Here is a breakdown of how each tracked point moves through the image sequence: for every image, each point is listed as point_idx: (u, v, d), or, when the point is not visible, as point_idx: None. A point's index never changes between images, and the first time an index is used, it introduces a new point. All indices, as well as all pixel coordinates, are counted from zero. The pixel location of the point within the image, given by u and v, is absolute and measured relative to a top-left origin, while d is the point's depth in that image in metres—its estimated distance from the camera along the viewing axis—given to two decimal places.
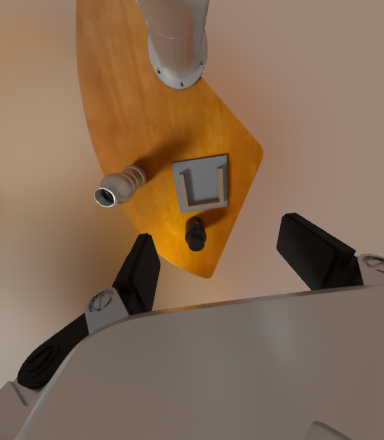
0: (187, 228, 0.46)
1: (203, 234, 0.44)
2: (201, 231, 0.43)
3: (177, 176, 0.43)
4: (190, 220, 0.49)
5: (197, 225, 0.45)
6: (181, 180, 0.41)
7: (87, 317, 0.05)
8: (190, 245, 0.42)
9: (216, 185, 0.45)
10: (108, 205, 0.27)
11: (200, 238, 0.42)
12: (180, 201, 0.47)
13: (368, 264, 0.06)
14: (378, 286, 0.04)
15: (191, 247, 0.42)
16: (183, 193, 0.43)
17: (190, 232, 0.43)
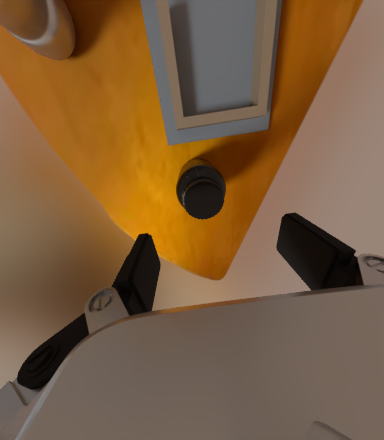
0: (181, 172, 0.20)
1: (220, 179, 0.18)
2: (215, 171, 0.18)
3: (155, 29, 0.17)
4: (188, 162, 0.23)
5: (204, 163, 0.19)
6: (163, 22, 0.15)
7: (87, 317, 0.05)
8: (188, 201, 0.16)
9: (250, 65, 0.19)
10: None
11: (215, 182, 0.16)
12: (166, 112, 0.21)
13: (368, 264, 0.06)
14: (378, 286, 0.04)
15: (190, 207, 0.16)
16: (170, 73, 0.17)
17: (188, 173, 0.18)
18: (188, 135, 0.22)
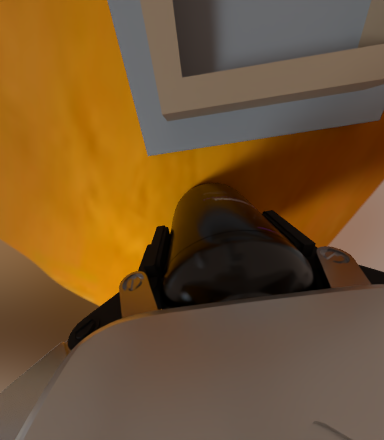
0: (177, 231, 0.07)
1: (312, 285, 0.05)
2: (297, 259, 0.05)
3: None
4: (194, 193, 0.10)
5: (243, 214, 0.06)
6: None
7: (123, 295, 0.06)
8: None
9: None
10: None
11: None
12: (137, 75, 0.08)
13: (325, 256, 0.06)
14: (378, 286, 0.04)
15: None
16: None
17: (199, 270, 0.05)
18: (194, 133, 0.10)
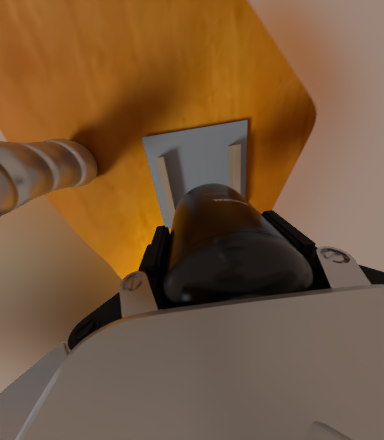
0: (177, 232, 0.07)
1: (312, 286, 0.05)
2: (297, 261, 0.05)
3: (155, 163, 0.23)
4: (194, 193, 0.10)
5: (243, 215, 0.06)
6: (160, 169, 0.21)
7: (124, 295, 0.06)
8: None
9: (226, 180, 0.25)
10: None
11: None
12: (163, 208, 0.27)
13: (325, 256, 0.06)
14: (378, 286, 0.04)
15: None
16: (166, 194, 0.23)
17: (199, 271, 0.05)
18: None
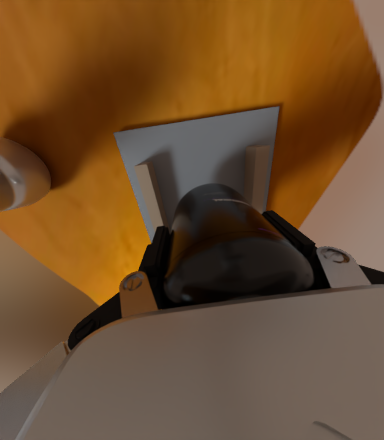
0: (177, 232, 0.07)
1: (313, 286, 0.05)
2: (298, 261, 0.05)
3: None
4: (194, 193, 0.10)
5: (243, 215, 0.06)
6: (143, 183, 0.14)
7: (124, 295, 0.06)
8: None
9: None
10: None
11: None
12: (152, 232, 0.20)
13: (325, 256, 0.06)
14: (378, 286, 0.04)
15: None
16: (153, 218, 0.16)
17: (199, 271, 0.05)
18: None
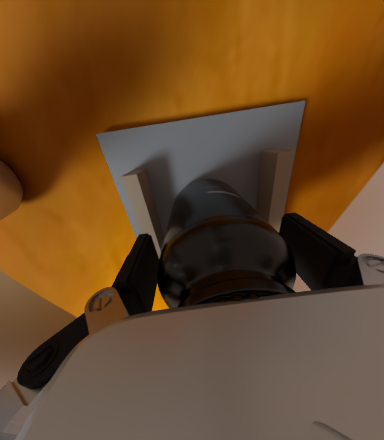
0: (173, 221, 0.08)
1: (289, 262, 0.06)
2: (275, 240, 0.06)
3: None
4: (190, 187, 0.11)
5: (232, 203, 0.07)
6: (133, 197, 0.11)
7: (87, 317, 0.05)
8: None
9: None
10: None
11: None
12: None
13: (368, 264, 0.06)
14: (378, 286, 0.04)
15: None
16: None
17: (189, 248, 0.05)
18: None
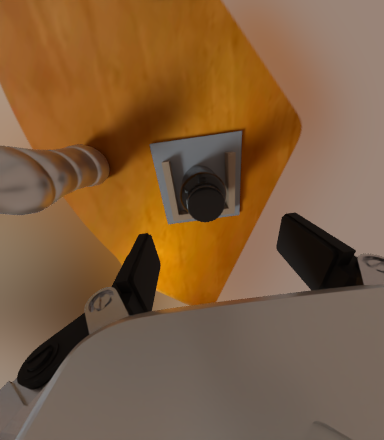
0: (185, 178, 0.22)
1: (221, 184, 0.19)
2: (216, 177, 0.19)
3: (160, 166, 0.26)
4: (191, 168, 0.25)
5: (206, 170, 0.21)
6: (166, 172, 0.24)
7: (87, 317, 0.05)
8: (191, 205, 0.17)
9: (223, 182, 0.28)
10: None
11: (216, 187, 0.17)
12: (166, 206, 0.30)
13: (368, 264, 0.06)
14: (378, 286, 0.04)
15: (193, 211, 0.18)
16: (170, 194, 0.26)
17: (191, 179, 0.19)
18: None
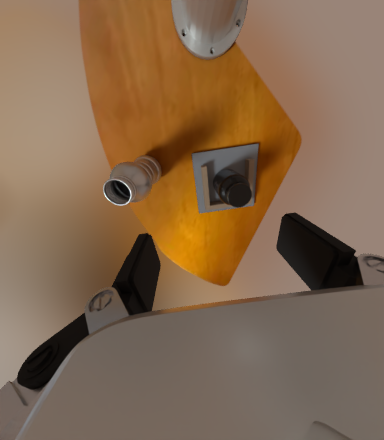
0: (220, 178, 0.31)
1: (247, 182, 0.29)
2: (244, 178, 0.29)
3: (198, 169, 0.36)
4: (222, 171, 0.34)
5: (236, 172, 0.30)
6: (204, 174, 0.34)
7: (87, 317, 0.05)
8: (230, 196, 0.27)
9: None
10: (122, 203, 0.20)
11: (246, 184, 0.27)
12: (199, 199, 0.40)
13: (368, 264, 0.06)
14: (378, 286, 0.04)
15: (231, 200, 0.27)
16: (205, 190, 0.36)
17: (228, 179, 0.29)
18: None
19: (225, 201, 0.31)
